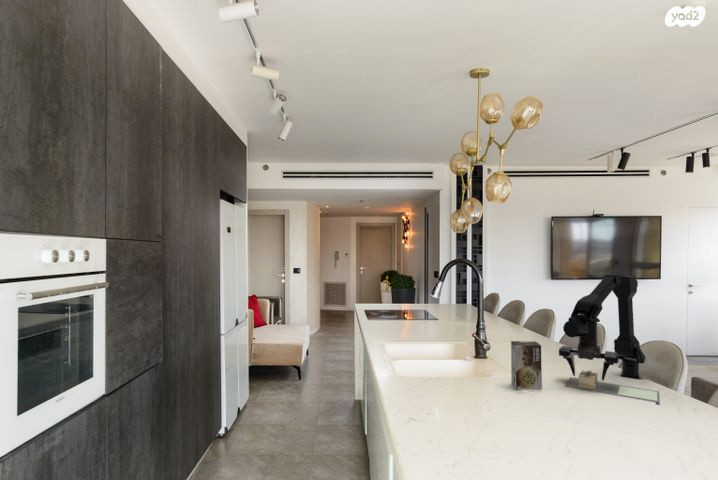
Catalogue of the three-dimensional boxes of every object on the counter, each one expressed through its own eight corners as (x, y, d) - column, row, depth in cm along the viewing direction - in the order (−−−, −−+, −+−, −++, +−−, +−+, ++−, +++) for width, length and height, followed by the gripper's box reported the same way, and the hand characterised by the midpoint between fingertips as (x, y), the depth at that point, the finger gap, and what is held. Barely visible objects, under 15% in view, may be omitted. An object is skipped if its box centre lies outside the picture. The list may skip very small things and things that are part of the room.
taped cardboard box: (582, 380, 159) (582, 369, 159) (597, 383, 156) (597, 371, 156) (578, 386, 151) (578, 375, 151) (594, 389, 148) (594, 377, 149)
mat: (570, 378, 163) (570, 376, 163) (658, 393, 147) (658, 391, 147) (563, 388, 152) (563, 386, 152) (659, 404, 136) (659, 402, 136)
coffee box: (536, 385, 154) (536, 341, 155) (542, 391, 148) (542, 345, 148) (510, 384, 155) (510, 340, 156) (515, 390, 149) (515, 344, 149)
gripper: (556, 335, 153) (556, 378, 152) (616, 341, 142) (616, 388, 142) (561, 330, 162) (561, 371, 162) (618, 336, 151) (618, 380, 151)
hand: (588, 378), depth 154 cm, fingers open, 9 cm apart
